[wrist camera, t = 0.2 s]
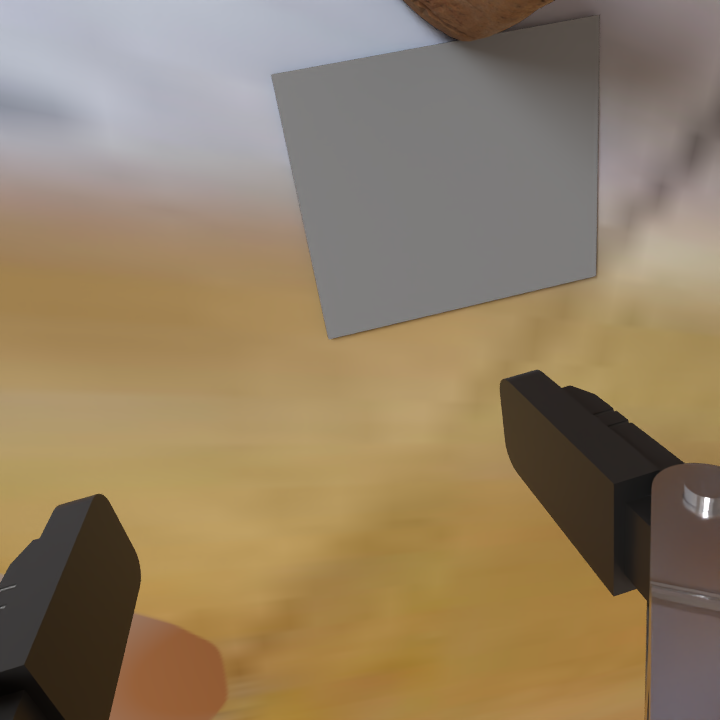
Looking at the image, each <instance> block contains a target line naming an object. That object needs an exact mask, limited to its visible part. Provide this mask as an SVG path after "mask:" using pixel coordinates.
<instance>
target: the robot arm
mask: <svg viewBox="0 0 720 720" xmlns="http://www.w3.org/2000/svg"><path fill="white" fill-rule="evenodd" d="M500 397H501V407H502V416H503V425H504V435H505V443H506V448H507V452H508V455H509V458H510V460H511V463H512V465H513V467H514V469H515V470H516V472H517V473H518V474H519V476H520V477H521V478H522V480H523V481H524V482H525V483H526V485H527V486H528V487H529V489H530V490H531V491H532V492H533V494H534V495H535V496H536V498H537V499H538V500H539V501H540V503H541V504H542V505H543V506H544V508H545V509H546V510H547V512H548V513H549V514H550V515H551V517H552V518H553V519H554V521H555V522H556V523H557V524H558V526H559V527H560V528H561V530H562V531H563V532H564V533H565V535H566V536H567V537H568V539H569V540H570V541H571V542H572V544H573V545H574V546H575V547H576V549H577V550H578V551H579V553H580V554H581V555H582V556H583V558H584V559H585V560H586V562H587V563H588V564H589V565H590V567H591V568H592V569H593V571H594V572H595V573H596V574H597V576H598V577H599V578H600V580H601V581H602V582H603V583H604V585H605V586H606V587H607V588H608V590H609V591H610V592H611V594H612V595H613V596H616V595H619V594H622V593H625V592H628V591H631V590H634V589H638V591H639V592H640V593H641V594H642V595H643V597H644V598H645V599H646V600H647V611H646V663H645V717H644V720H720V466H715V465H710V464H702V463H684V462H682V461H681V460H680V459H678V458H677V457H676V456H675V455H673V454H672V453H671V452H669V451H668V450H667V449H665V448H664V447H663V446H662V445H660V444H659V443H658V442H656V441H655V440H654V439H652V438H651V437H650V436H649V435H647V434H646V433H645V432H643V431H642V430H641V429H639V428H638V427H637V426H636V425H634V424H633V423H629V422H628V419H626V418H625V417H624V416H623V415H621V414H620V413H619V412H617V411H615V412H614V410H613V408H612V407H611V406H610V405H608V404H607V403H606V402H604V401H603V400H602V399H600V398H599V397H598V396H597V395H595V394H593V393H590V392H587V391H584V390H581V389H579V388H576V387H573V386H567V387H563V388H561V387H560V386H558V385H557V384H556V383H555V382H554V381H552V380H551V379H550V378H549V377H548V376H546V375H545V374H544V373H543V372H541V371H540V370H534V371H530V372H527V373H523V374H520V375H516V376H513V377H509V378H506V379H503V380H502V381H501V383H500ZM140 582H141V571H140V564H139V560H138V556H137V554H136V551H135V549H134V547H133V546H132V544H131V542H130V540H129V538H128V536H127V534H126V532H125V530H124V529H123V527H122V525H121V523H120V521H119V519H118V517H117V515H116V513H115V512H114V510H113V508H112V506H111V504H110V502H109V501H108V499H107V498H106V497H105V496H104V495H102V494H96V495H93V496H89V497H86V498H82V499H79V500H75V501H72V502H68V503H65V504H61V505H59V506H57V507H56V508H55V509H54V511H53V513H52V515H51V517H50V519H49V521H48V523H47V525H46V527H45V529H44V531H43V533H42V535H41V537H40V538H39V539H36V540H33V541H32V542H31V543H30V544H29V545H28V546H27V547H26V548H25V549H24V550H23V552H22V553H21V554H20V555H19V556H18V557H17V558H16V559H15V560H14V561H13V562H12V563H11V564H10V566H9V568H8V570H7V571H6V573H5V575H4V577H3V579H2V581H1V583H0V720H109V716H110V712H111V707H112V703H113V699H114V694H115V691H116V686H117V682H118V678H119V674H120V669H121V665H122V660H123V656H124V652H125V648H126V643H127V639H128V635H129V630H130V626H131V622H132V618H133V614H134V609H135V605H136V601H137V596H138V592H139V588H140Z"/></svg>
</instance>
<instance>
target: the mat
mask: <svg viewBox="0 0 720 720" xmlns="http://www.w3.org/2000/svg"><path fill="white" fill-rule="evenodd" d="M599 34H600V15H595V16H589V17H584V18H579V19H573V20H568V21H562V22H557V23H551V24H546V25H540V26H535V27H529V28H524V29H518V30H513V31H507V32H502V33H497V34H494V35H492V36H489V37H486V38H482V39H478V40H474V41H470V42H468V41H460V40H458V41H453V42H447V43H442V44H436V45H431V46H425V47H420V48H414V49H409V50H404V51H398V52H393V53H387V54H382V55H376V56H371V57H365V58H360V59H354V60H349V61H343V62H338V63H332V64H327V65H322V66H316V67H311V68H305V69H300V70H294V71H289V72H283V73H278V74H272V75H271V77H272V81H273V86H274V90H275V95H276V100H277V104H278V109H279V113H280V118H281V123H282V127H283V132H284V136H285V141H286V146H287V150H288V155H289V160H290V164H291V169H292V173H293V178H294V183H295V187H296V192H297V196H298V201H299V206H300V210H301V215H302V219H303V224H304V229H305V233H306V238H307V242H308V247H309V252H310V256H311V261H312V266H313V270H314V275H315V279H316V284H317V289H318V293H319V298H320V302H321V307H322V312H323V316H324V321H325V325H326V330H327V335H328V338H329V339H332V338H337V337H341V336H345V335H349V334H354V333H358V332H362V331H366V330H370V329H375V328H379V327H383V326H387V325H391V324H396V323H400V322H404V321H408V320H413V319H417V318H421V317H425V316H429V315H434V314H438V313H442V312H446V311H451V310H455V309H459V308H463V307H467V306H472V305H476V304H480V303H484V302H488V301H493V300H497V299H501V298H505V297H510V296H514V295H518V294H522V293H526V292H531V291H535V290H539V289H543V288H547V287H552V286H556V285H560V284H564V283H569V282H573V281H577V280H581V279H585V278H590V277H594V276H596V238H597V170H598V102H599Z"/></svg>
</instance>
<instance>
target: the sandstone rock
mask: <svg viewBox="0 0 720 720" xmlns="http://www.w3.org/2000/svg"><path fill="white" fill-rule="evenodd" d="M403 1H404V2H405V3H406V4H407V5H408V6H409V7H410V8H411V9H413V10H414V11H415V12H416V13H417V14H418V15H420V16H421V17H422V18H423V19H425V20H426V21H427V22H428V23H430V24H431V25H432V26H434V27H435V28H437V29H439V30H440V31H442V32H444V33H445V34H447V35H448V36H450V37H453V38H455V39H458V40H460V41H468V42H470V41H474V40H478V39H482V38H486V37H489V36H492V35H494V34H496V33H499V32H502V31H504V30H506V29H508V28H510V27H512V26H513V25H515V24H517V23H519V22H521V21H522V20H524V19H525V18H527V17H528V16H529V15H531V14H532V13H533V12H535V11H536V10H537V9H539V8H542V7H543V6H545V5H547V4H549V3H551V2H553V1H555V0H403Z"/></svg>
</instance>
